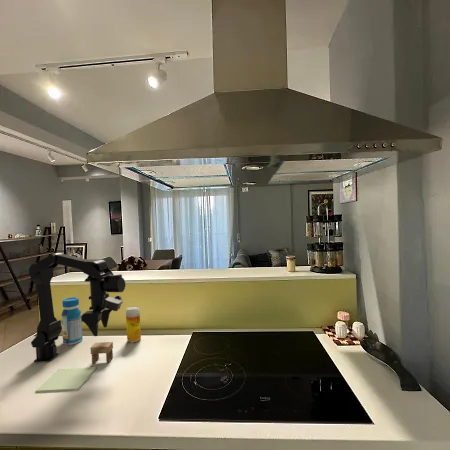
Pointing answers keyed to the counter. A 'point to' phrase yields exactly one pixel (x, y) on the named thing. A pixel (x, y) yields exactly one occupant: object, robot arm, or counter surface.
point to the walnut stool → (102, 351)
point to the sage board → (67, 379)
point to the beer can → (133, 324)
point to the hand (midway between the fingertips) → (100, 331)
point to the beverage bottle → (71, 321)
